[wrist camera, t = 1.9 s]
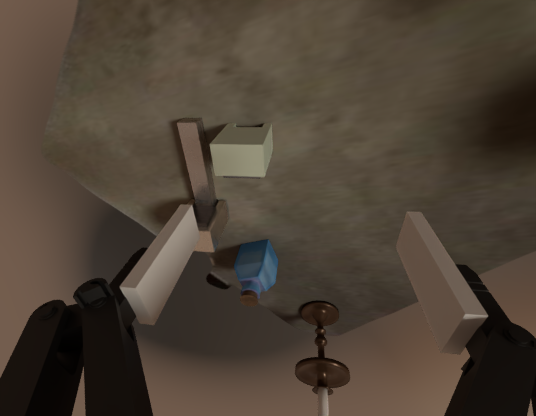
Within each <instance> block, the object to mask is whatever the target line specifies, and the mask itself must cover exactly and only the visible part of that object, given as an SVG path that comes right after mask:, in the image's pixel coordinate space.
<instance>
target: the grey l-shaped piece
mask: <svg viewBox="0 0 536 416" xmlns="http://www.w3.org/2000/svg"><path fill="white" fill-rule="evenodd" d="M177 126H178V130H179V134H180V138H181V143H182V147H183V151H184V155H185V160H186V164H187V168H188V172H189V176H190V181H191V185H192V189H193V193H194V198H195V199H190V201H189V202H188V204H187V205H192V207H193V211H194V215H195V219H196V223H197V227H198V231H199V235H200V239H199V241H198V242H197V244H196V246H195V248H194V250H193V251H204V252H215V250H216V247H217V245H218V243H219V240H220V238H221V236H222V234H223V231H224V229H225V227H226V224H227V222H228V213H227V207H226V201H221V200H219V202H218V204H217V199H216V193H215V188H214V182H213V177H212V171H211V166H210V160H209V155H208V149H207V143H206V138H205V132H204V127H203V121H202V118H183V119H182V120H180V121H179V122H177Z"/></svg>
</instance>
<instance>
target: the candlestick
mask: <svg viewBox="0 0 536 416" xmlns="http://www.w3.org/2000/svg"><path fill="white" fill-rule="evenodd" d="M301 315H302V318H303V319H304V320H305V321H306V322H308V323H310V324H312V325H316V326H317V329H316V330H315V333H316V334H317V337H316V339H315V344H316V345H317V346H318V357H313V358H312V357H311V358H306V359H303V360H301V361H299V362H298V363H297V364H296V368H295V375H296V377H297V378H298V379H299V380H300V381H302V382H303V383H305V384H307V385H311V386H314V388H313V389H312V391H313V392H314V393H316V394H318V416H329V412H328V395H331V394H332V393H333V390H332V389H330V388H337V387H341V386H344V385H345V384H347V383H348V382H349V380H350V374H349V370H348V368H347V367H346V365H344V364H343V363H341V362H339V361H336V360H333V359H329V358H325V355H324V346H326V345H327V340H326V338H325V337H324V334H326V330H325V329H323V326H327V325H331V324H333V323H335V322H336V321H337V320H338V318H339V311H338V309H337V308H336V306H334V305H333V304H331V303H329V302H325V301H312V302H309V303H306V304H305V305H304V306H303V307H302V310H301Z"/></svg>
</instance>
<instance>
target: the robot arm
mask: <svg viewBox="0 0 536 416" xmlns="http://www.w3.org/2000/svg"><path fill="white" fill-rule="evenodd" d="M199 239H200V235H199V231H198V227H197V223H196V219H195V215H194V211H193V207H192V205H183V204H181V205H180V206H179V207H178V209H177V210H176V212H175V213H174V214H173V216H172V217H171V218H170V220H169V221H168V222H167V224H166V225H165V226H164V228H163V229H162V230H161V232H160V233H159V234H158V236H157V237H156V238H155V240H154V241H153V243H152V244H151V245H150V246H149V248H141V249H140V250H138V251H137V252H136V253H135V254H133V255H132V257H131V258H130V259H129V261H128V263H126V264H125V266H124V267H123V269H121V271H120V272H119V273H118V274H117V276H116V277H115V278H114V279H113V281H112V282H111V283H110V284H109V285H108V283H107V281H106V280H105V279H103V278H95V279H92V280H89V281H87V282H85V283H83V284H82V285H81V286H80V287H78V289H77V290H76V291H75V293H74V296H73V298H74V299H75V301H76V302H77V303H78V304H74V305H69V306H66V304H65V303H64V302H63V301H62V300H52V301H50V302H47V303H45V304H43V305H42V306H40V307H39V308H38V309H36V310H35V311H34V312H33V314H32V315H31V316H30V318H29V320H28V322H27V324H26V326H25V328H24V330H23V332H22V334H21V336H20V338H19V340H18V343H17V345H16V347H15V349H14V351H13V353H12V355H11V357H10V359H9V361H8V363H7V366H6V368H5V370H4V372H3V374H2V376H1V378H0V416H72V412H73V408H74V403H75V399H76V395H77V391H78V387H79V383H80V379H81V374H82V370H83V366H84V380H85V381H84V382H85V409H86V416H153V413H152V408H151V404H150V399H149V394H148V390H147V386H146V381H145V376H144V372H143V368H142V363H141V358H140V355H139V350H138V345H137V340H136V336H135V331H134V327H133V325H132V322H133V320H134V319H135V317H136V318H137V319H138V321H139V323H140V324H150V325H154V324H155V322H156V320H157V318H158V316H159V315H160V313H161V311H162V309H163V307H164V305H165V303H166V301H167V299H168V298H169V296H170V294H171V292H172V290H173V288H174V286H175V284H176V282H177V280H178V279H179V276H180V275H181V273H182V271H183V269H184V267H185V265H186V263H187V261H188V259H189V257H190V256H191V254H192V252H193V250H194V248H195V246H196V244H197V242H198V241H199ZM396 249H397V251H398V253H399V256H400V258H401V260H402V263H403V265H404V267H405V270H406V272H407V275H408V277H409V279H410V282H411V284H412V286H413V289H414V291H415V293H416V296H417V298H418V300H419V303H420V305H421V307H422V310H423V312H424V315H425V317H426V319H427V321H428V324H429V326H430V329H431V331H432V333H433V336H434V338H435V341H436V343H437V345H438V347H439V350H440V352H441V353H450V354H461V352H462V351H463V350H464V348H465V347H466V348H467V350H468V352H469V354H470V358H469V359H468V360H467V362H466V363H465V364H464V365H463V367H462V368H461V370H463V372H462V375H461V377H460V380H459V382H458V384H457V387H456V389H455V391H454V394H453V396H452V399H451V401H450V403H449V406H448V408H447V410H446V413H445V415H444V416H527V413H528V408H529V404H530V399H531V400H532V407H533V413H534V416H536V338H535V337H534V336H533V335H532V334H531V333H530V332H528V331H527V330H525V329H524V328H522V327H521V326H519V325H516V324H514V323H512V322H511V321H510V320H509V319H508V317H507V316H506V315H505V313H504V312H503V310H502V309H501V307H500V306H499V305H498V303H497V302H496V301H495V299H494V298H493V296H492V295H491V293H489V292H488V289H487V288H486V286H485V285H483V282H482V281H481V279H480V278H479V277H478V275H477V274H476V273H475V272H474V271H473V270H471V269H470V268H469V267H468V266H466V265H457V264H454V262H453V261H452V259H451V258H450V256H449V254H448V253H447V251H446V250H445V248H444V247H443V245H442V244H441V242H440V241H439V239H438V238H437V236H436V234H435V233H434V231H433V230H432V228H431V227H430V225H429V224H428V222H427V221H426V219H425V218H424V216H423V215H422V213H421V212H407V213H406V216H405V219H404V222H403V226H402V229H401V232H400V235H399V238H398V241H397V245H396Z"/></svg>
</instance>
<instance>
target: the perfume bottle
mask: <svg viewBox="0 0 536 416" xmlns="http://www.w3.org/2000/svg"><path fill="white" fill-rule="evenodd" d="M277 266H278V259H277V257H276V254H275V252H274V250H273V248H272V246H271V244H270V242H269V240H268V239H267V240H261V241H256V242H251V243H246V244H241V246H240V249H239V252H238V255H237V258H236V261H235V264H234V268H235V271H236V274H237V277H238V280H239V281H240V283H241V285H242V286H243V287H242V290H241V298H240V301H241V303H242V304H244V305H246V306H255V305H257V303H258V299H259V297H260V292H262V291H267V290H268V289H269V288H270V287H271V286H273V285H274V284H275V280H276V273H277Z"/></svg>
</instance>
